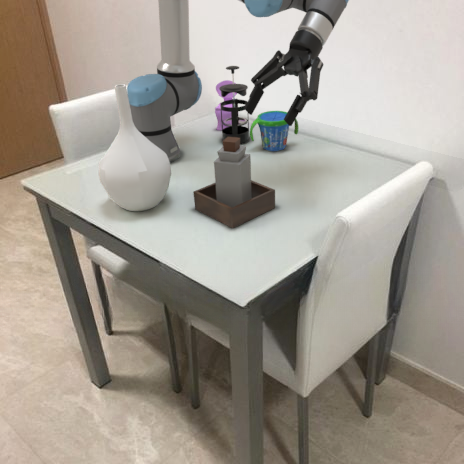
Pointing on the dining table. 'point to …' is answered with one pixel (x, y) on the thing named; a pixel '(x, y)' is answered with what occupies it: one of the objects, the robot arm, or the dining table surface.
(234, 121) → the french press
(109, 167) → the vase
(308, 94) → the robot arm
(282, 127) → the sippy cup
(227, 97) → the toy chair
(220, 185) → the perfume bottle
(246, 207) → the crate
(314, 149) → the dining table surface
